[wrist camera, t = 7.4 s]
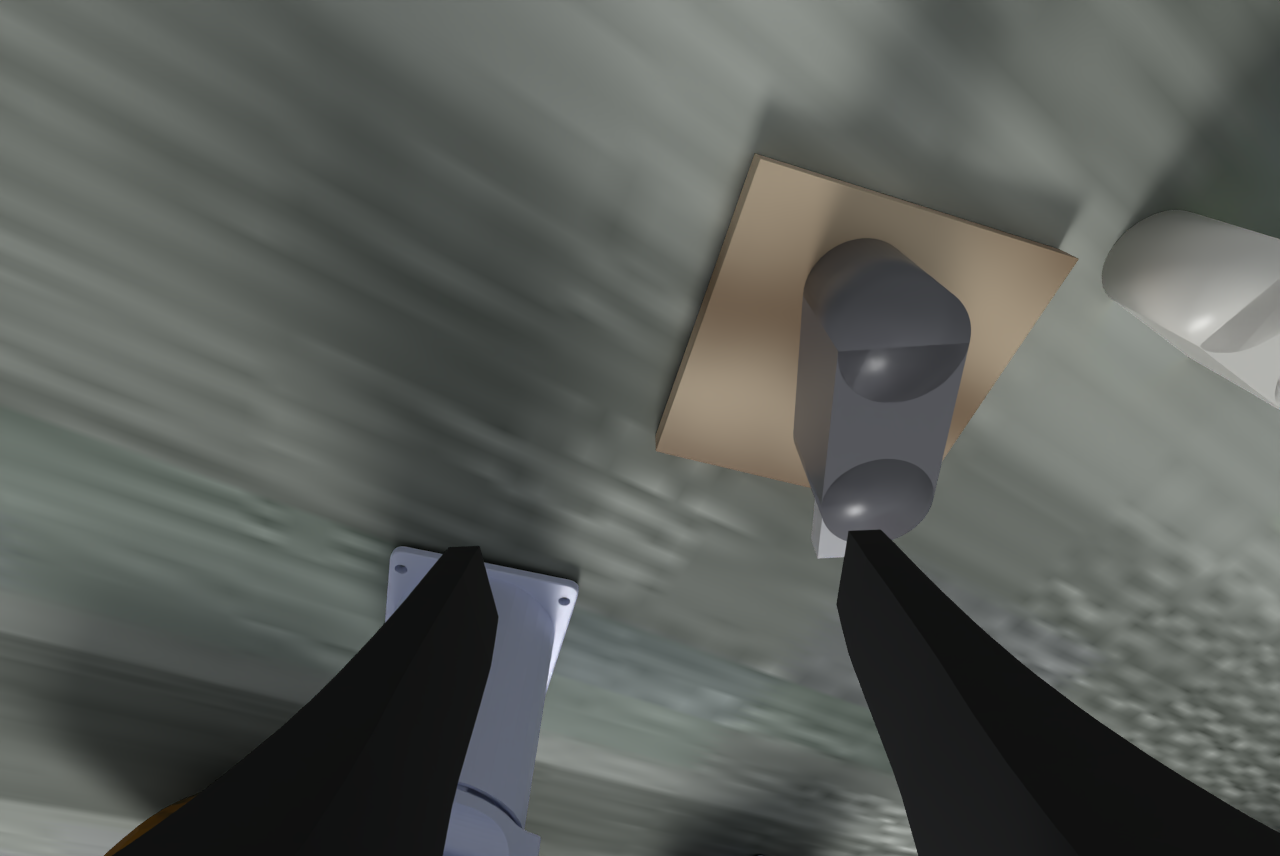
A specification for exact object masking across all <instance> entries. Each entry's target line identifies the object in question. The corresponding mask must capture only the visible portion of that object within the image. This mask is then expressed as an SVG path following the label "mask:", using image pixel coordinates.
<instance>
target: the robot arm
mask: <svg viewBox="0 0 1280 856" xmlns="http://www.w3.org/2000/svg"><path fill="white" fill-rule="evenodd" d="M401 565H403V566H405V567H403V566H401ZM578 591H579V586H578V584H577V583H576V582H574V581H572V580H568V579H563V578H559V577H554V576H549V575H544V574H539V573H534V572H529V571H524V570H519V569H514V568H509V567H504V566H499V565H494V564H489V563H485V562H484V561H483V557H482V554H481V550H480V546H468V547H449V548H448V549H447V550H446V551H445V552H444V553H443V554H440V553H435V552H430V551H425V550H420V549H415V548H410V547H405V546H400V547H396V548H395V549H394V550H393V552H392V554H391V556H390V564H389V577H388V589H387V602H386V615H385V623H384V625H383V626H382V627H381V628H380V629H379V630H378V631H377V633H376V634H375V635H374V636H373V637H372V638H371V639H370V640H369V641H368V642H367V644H366V645H365V646H364V647H363V648H362V649H361V650H360V651H359V652H358V653H357V654H356V655H355V656H354V657H353V658H352V659H351V660H350V661H349V662H348V664H347V665H346V666H345V667H344V668H343V669H342V670H341V671H340V672H339V673H338V674H337V675H336V676H335V677H334V678H333V679H332V680H331V681H330V682H329V683H328V684H327V685H326V686H325V687H324V688H323V689H322V690H321V691H320V692H319V693H318V694H317V695H316V696H315V697H314V698H313V699H312V700H311V701H310V702H308V703H307V704H306V705H305V706H304V707H303V708H302V709H301V710H300V711H299V712H298V713H296V714H295V715H294V716H293V717H292V718H291V719H290V720H289V721H288V722H287V723H286V724H284V725H283V726H282V727H281V728H280V729H279V730H278V731H276V732H275V733H274V734H273V735H272V736H270V737H269V738H268V739H267V740H266V741H264V742H263V743H262V744H261V745H259V746H258V747H257V748H256V749H255V750H253V751H252V752H251V753H250V754H248V755H247V756H246V757H245V758H244V759H242V760H241V761H240V762H239V763H238V764H236V765H235V766H234V767H233V768H231V769H230V770H229V771H228V772H227V773H225V774H224V775H223V776H222V777H220V778H219V779H218V780H217V781H215V782H214V783H213V784H211V785H210V786H209V787H207V788H206V789H205V790H203V791H202V792H201V793H199V794H198V795H197V796H195V797H194V798H193V799H191V800H190V801H189V802H187V803H186V804H185V805H183V806H182V807H181V808H179V809H178V810H177V811H175V812H174V813H172V814H171V815H170V816H168V817H167V818H165V819H164V820H163V821H161V822H160V823H158V824H157V825H156V826H154V827H153V828H152V829H150V830H149V831H147V832H146V833H144V834H143V835H142V836H140V837H139V838H137V839H136V840H134V841H133V842H131V843H130V844H129V845H127V846H126V847H124V848H123V849H121V850H119V851H118V852H116V853H115V854H113V855H112V856H539V849H540V841H541V837H540V836H539V835H536V834H533V833H530V832H528V831H526V830H524V829H525V823H526V816H527V810H528V803H529V797H530V791H531V784H532V778H533V771H534V765H535V758H536V752H537V746H538V739H539V733H540V726H541V720H542V714H543V707H544V701H545V695H546V692H547V689H548V686H549V683H550V680H551V677H552V674H553V671H554V668H555V665H556V661H557V658H558V655H559V652H560V649H561V646H562V643H563V640H564V637H565V634H566V631H567V628H568V624H569V621H570V618H571V615H572V612H573V609H574V606H575V603H576V600H577V597H578ZM562 597H566V598H567V599H564V598H562ZM837 609H838V613H839V617H840V621H841V625H842V630H843V634H844V637H845V641H846V645H847V649H848V653H849V656H850V659H851V661H852V664H853V667H854V670H855V672H856V675H857V678H858V680H859V683H860V686H861V688H862V691H863V694H864V696H865V699H866V701H867V704H868V707H869V709H870V712H871V714H872V717H873V720H874V722H875V725H876V727H877V730H878V733H879V735H880V738H881V741H882V743H883V746H884V748H885V751H886V754H887V756H888V759H889V761H890V764H891V767H892V769H893V772H894V775H895V778H896V781H897V784H898V787H899V790H900V793H901V796H902V799H903V803H904V806H905V810H906V813H907V817H908V821H909V824H910V828H911V831H912V835H913V838H914V842H915V845H916V849H917V852H918V856H1280V833H1278V832H1276V831H1275V830H1273V829H1271V828H1269V827H1267V826H1266V825H1264V824H1262V823H1260V822H1258V821H1256V820H1255V819H1253V818H1251V817H1249V816H1248V815H1246V814H1244V813H1242V812H1241V811H1239V810H1237V809H1235V808H1234V807H1232V806H1230V805H1229V804H1227V803H1226V802H1224V801H1222V800H1221V799H1219V798H1217V797H1216V796H1214V795H1212V794H1211V793H1209V792H1207V791H1206V790H1204V789H1202V788H1201V787H1199V786H1197V785H1196V784H1194V783H1192V782H1191V781H1189V780H1187V779H1186V778H1184V777H1182V776H1181V775H1179V774H1178V773H1176V772H1174V771H1173V770H1171V769H1170V768H1168V767H1167V766H1165V765H1163V764H1162V763H1160V762H1159V761H1157V760H1156V759H1154V758H1152V757H1151V756H1149V755H1148V754H1146V753H1145V752H1143V751H1142V750H1140V749H1139V748H1137V747H1136V746H1134V745H1133V744H1131V743H1130V742H1128V741H1127V740H1125V739H1124V738H1123V737H1121V736H1120V735H1118V734H1117V733H1115V732H1114V731H1112V730H1111V729H1109V728H1108V727H1106V726H1105V725H1103V724H1102V723H1100V722H1099V721H1098V720H1096V719H1095V718H1093V717H1092V716H1091V715H1089V714H1088V713H1086V712H1085V711H1084V710H1082V709H1081V708H1079V707H1078V706H1077V705H1075V704H1074V703H1073V702H1071V701H1070V700H1069V699H1067V698H1066V697H1065V696H1063V695H1062V694H1061V693H1059V692H1058V691H1057V690H1055V689H1054V688H1053V687H1052V686H1050V685H1049V684H1048V683H1046V682H1045V681H1044V680H1042V679H1041V678H1040V677H1038V676H1037V675H1036V674H1035V673H1033V672H1032V671H1031V670H1030V669H1028V668H1027V667H1026V666H1025V665H1023V664H1022V663H1021V662H1020V661H1018V660H1017V659H1016V658H1015V657H1014V656H1013V655H1011V654H1010V653H1009V652H1008V651H1007V650H1006V649H1004V648H1003V647H1002V646H1001V645H1000V644H999V643H997V642H996V641H995V640H994V639H993V638H992V637H990V636H989V635H988V634H987V633H986V632H985V631H984V630H983V629H982V628H981V627H979V626H978V625H977V624H976V623H975V622H974V621H973V620H972V619H971V618H970V617H969V616H967V615H966V614H965V613H964V612H963V611H962V610H961V609H960V608H959V607H958V606H957V605H956V604H955V603H954V602H953V601H952V600H951V599H950V598H948V597H947V596H946V595H945V594H944V593H943V592H942V591H941V590H940V589H939V588H938V587H937V586H936V585H935V584H934V583H933V582H932V581H931V580H930V579H929V578H928V577H927V576H926V575H925V574H924V573H923V572H922V571H921V570H920V569H919V568H918V567H917V566H916V565H915V564H914V563H913V562H912V561H911V560H910V559H909V558H908V557H907V556H906V555H905V554H904V553H903V551H902V550H901V549H900V548H899V547H898V546H897V545H896V544H895V543H894V542H893V541H892V540H891V539H890V538H889V537H888V536H887V535H886V534H885V533H884V532H883V531H882V530H881V529H879V530H855V531H848V537H847V543H846V549H845V555H844V561H843V568H842V574H841V580H840V586H839V592H838V598H837Z"/></svg>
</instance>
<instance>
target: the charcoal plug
mask: <svg viewBox="0 0 1280 856" xmlns="http://www.w3.org/2000/svg"><path fill="white" fill-rule="evenodd" d="M970 338H971V323H970V318H969V315H968V312H967V310H966V308H965V307H964V305H963V304H962V302H961V301H960V300H959V299H958V298H957V297H956V296H955V295H953V294H952V293H951V292H950V291H948V290H947V289H946V288H945V287H944V286H942V285H941V284H940V283H939V282H937V281H936V280H935V279H934V278H932V277H931V276H930V275H929V274H927V273H926V272H925V271H924V270H923V269H921V268H920V267H919V266H918V265H916V264H915V263H914V262H913V261H911V260H910V259H909V258H908V257H906V256H905V255H904V254H903V253H901V252H900V251H899V250H898V249H897V248H895V247H894V246H892V245H891V244H889V243H887V242H885V241H882V240H878V239H872V238H861V239H854V240H851V241H847V242H845V243H842V244H840V245H838V246H836V247H834V248H833V249H831V250H830V251H828V252H827V253H826V254H825V255H824V256H822V257H821V258H820V259H819V261H818V262H817V263H816V264H815V265H814V267H813V268H812V270H811V272H810V273H809V275H808V277H807V280H806V282H805V286H804V291H803V301H802V315H801V329H800V344H799V358H798V372H797V386H796V401H795V415H794V429H793V439H794V444H795V446H796V449H797V452H798V454H799V457H800V460H801V463H802V465H803V468H804V471H805V473H806V476H807V479H808V481H809V484H810V487H811V489H812V492H813V495H814V497H815V505H814V515H813V525H812V535H811V540H812V543H813V546H814V549H815V552H816V555H817V558H834V557H844V555H845V549H846V543H847V537H848V531H855V530H879V529H881V530H882V531H883V532H884V533H885V534H886V535H887V536H888V537H889V538H890V539H891V540H893V539H895V538H898V537H900V536H902V535H904V534H906V533H907V532H909V531H910V530H912V529H913V528H914V527H916V526H917V525H918V524H919V523H920V522H921V521H922V520H923V519H924V517H925V516H926V515H927V513H928V511H929V509H930V507H931V505H932V502H933V498H934V493H935V489H936V485H937V481H938V476H939V472H940V468H941V463H942V459H943V455H944V451H945V446H946V442H947V438H948V433H949V429H950V425H951V421H952V416H953V412H954V408H955V403H956V399H957V395H958V391H959V386H960V382H961V378H962V374H963V369H964V365H965V361H966V356H967V352H968V348H969V344H970Z"/></svg>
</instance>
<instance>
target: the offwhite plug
mask: <svg viewBox="0 0 1280 856" xmlns="http://www.w3.org/2000/svg"><path fill="white" fill-rule="evenodd" d="M1102 284H1103V288H1104V290H1105V292H1106V293H1107V295H1108V296H1109V297H1110V298H1111V299H1112V300H1113V301H1115V302H1116V303H1117V304H1119V305H1120V306H1121V307H1123V308H1124V309H1125V310H1127V311H1128V312H1129V313H1131V314H1132V315H1133V316H1135V317H1136V318H1137V319H1139V320H1140V321H1141V322H1143V323H1144V324H1145V325H1147V326H1148V327H1149V328H1151V329H1152V330H1153V331H1155V332H1156V333H1157V334H1158V335H1160V336H1161V337H1162V338H1164V339H1165V340H1166V341H1168V342H1169V343H1170V344H1172V345H1173V346H1174V347H1176V348H1177V349H1178V350H1180V351H1181V352H1182V353H1184V354H1185V355H1186V356H1188V357H1189V358H1191V359H1192V360H1194V361H1196V362H1197V363H1199V364H1201V365H1203V366H1204V367H1206V368H1208V369H1210V370H1211V371H1213V372H1215V373H1217V374H1218V375H1220V376H1222V377H1224V378H1225V379H1227V380H1229V381H1231V382H1232V383H1234V384H1236V385H1238V386H1239V387H1241V388H1243V389H1244V390H1246V391H1248V392H1250V393H1251V394H1253V395H1255V396H1257V397H1258V398H1260V399H1262V400H1264V401H1265V402H1267V403H1269V404H1271V405H1272V406H1274V407H1276V408H1278V409H1279V410H1280V239H1278V238H1275V237H1271V236H1268V235H1265V234H1262V233H1258V232H1255V231H1252V230H1248V229H1245V228H1242V227H1239V226H1235V225H1232V224H1229V223H1225V222H1222V221H1219V220H1216V219H1212V218H1209V217H1206V216H1203V215H1199V214H1196V213H1193V212H1189V211H1185V210H1168V211H1163V212H1160V213H1156V214H1154V215H1151V216H1149V217H1147V218H1145V219H1143V220H1141V221H1140V222H1138V223H1137V224H1135V225H1134V226H1133V227H1131V228H1130V229H1129V230H1128V231H1126V232H1125V233H1124V234H1123V235H1122V236H1121V237H1120V238H1119V239H1118V241H1117V242H1116V243H1115V244H1114V246H1113V247H1112V249H1111V250H1110V252H1109V254H1108V256H1107V258H1106V260H1105V263H1104V266H1103V270H1102Z"/></svg>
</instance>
